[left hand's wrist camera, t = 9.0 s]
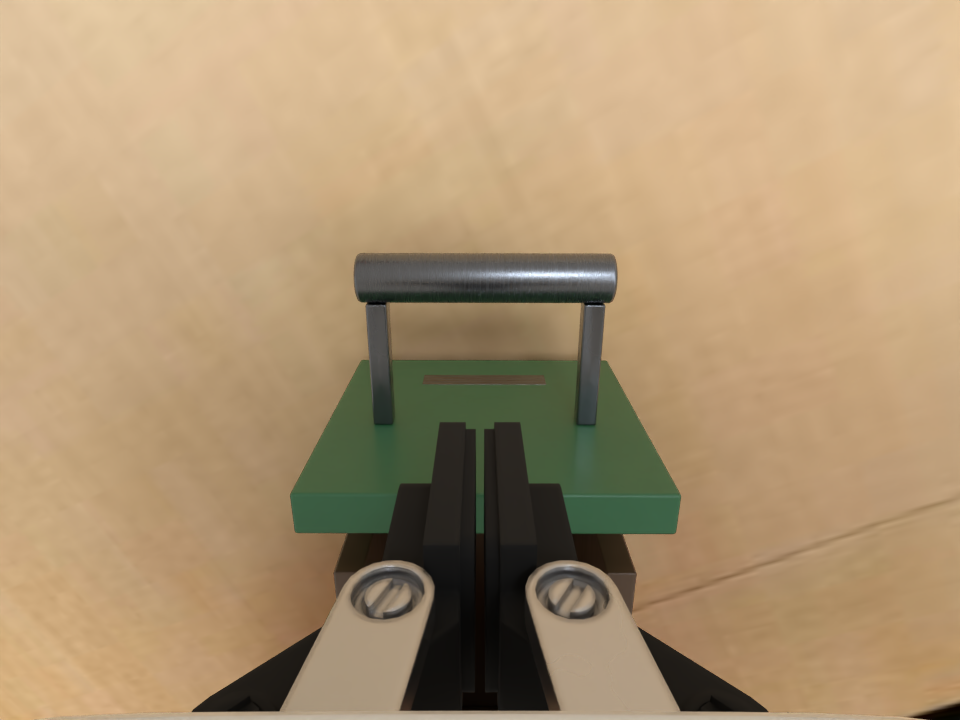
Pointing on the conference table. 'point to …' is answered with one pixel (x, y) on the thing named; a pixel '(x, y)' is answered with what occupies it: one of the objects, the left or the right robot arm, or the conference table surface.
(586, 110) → the conference table surface
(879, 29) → the conference table surface
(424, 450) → the drawer
